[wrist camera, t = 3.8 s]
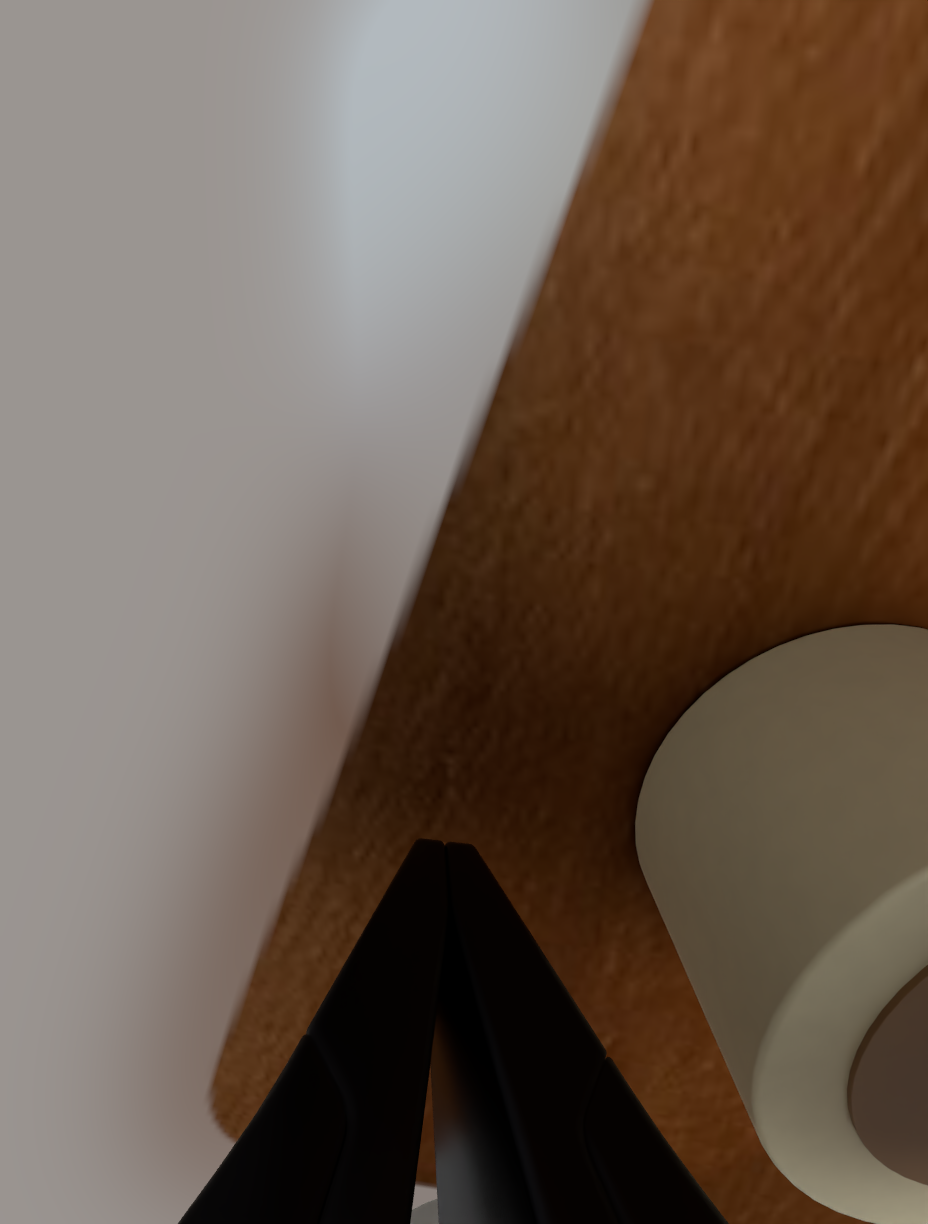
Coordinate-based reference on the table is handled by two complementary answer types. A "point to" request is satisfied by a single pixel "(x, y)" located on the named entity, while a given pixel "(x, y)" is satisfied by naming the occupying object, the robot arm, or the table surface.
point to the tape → (809, 903)
